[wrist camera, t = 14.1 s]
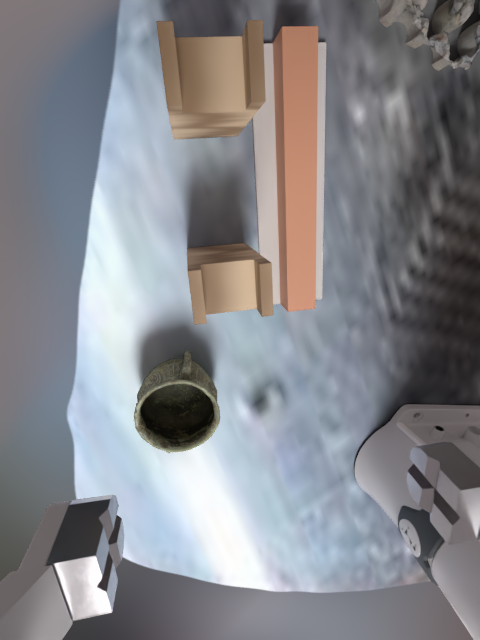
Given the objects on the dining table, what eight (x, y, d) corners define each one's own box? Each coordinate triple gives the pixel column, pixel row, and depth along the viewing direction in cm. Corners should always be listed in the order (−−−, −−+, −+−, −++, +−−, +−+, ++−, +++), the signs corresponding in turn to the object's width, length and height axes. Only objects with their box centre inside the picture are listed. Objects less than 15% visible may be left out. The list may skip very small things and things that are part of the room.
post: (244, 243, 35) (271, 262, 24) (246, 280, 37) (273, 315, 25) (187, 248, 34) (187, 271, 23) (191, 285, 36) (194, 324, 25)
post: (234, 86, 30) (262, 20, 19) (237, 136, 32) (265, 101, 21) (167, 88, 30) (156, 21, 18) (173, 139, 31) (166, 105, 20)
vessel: (204, 431, 42) (207, 468, 37) (133, 424, 41) (124, 462, 35) (225, 346, 39) (233, 372, 33) (148, 333, 37) (141, 358, 31)
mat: (324, 44, 30) (326, 42, 30) (320, 297, 39) (322, 298, 38) (248, 45, 29) (249, 43, 29) (261, 304, 38) (262, 305, 37)
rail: (305, 42, 30) (318, 26, 27) (306, 300, 38) (315, 308, 35) (272, 43, 29) (282, 26, 27) (280, 303, 38) (288, 311, 35)
